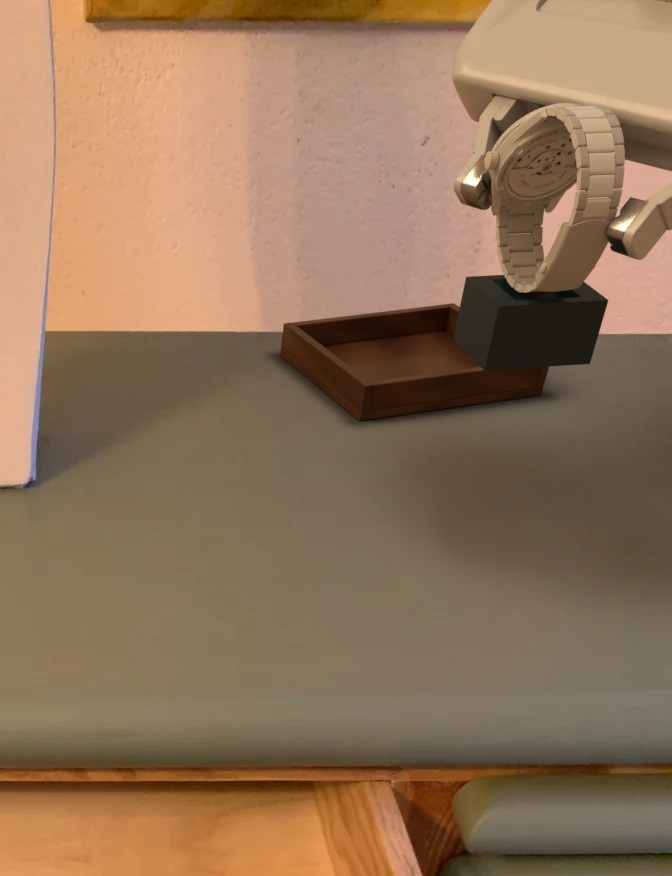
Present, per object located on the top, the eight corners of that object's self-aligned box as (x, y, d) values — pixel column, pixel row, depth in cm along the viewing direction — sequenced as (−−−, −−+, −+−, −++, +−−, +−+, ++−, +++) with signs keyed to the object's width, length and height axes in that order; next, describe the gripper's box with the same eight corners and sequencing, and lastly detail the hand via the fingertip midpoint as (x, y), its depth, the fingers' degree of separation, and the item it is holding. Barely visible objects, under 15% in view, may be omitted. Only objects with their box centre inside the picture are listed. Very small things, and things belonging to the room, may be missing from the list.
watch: (538, 319, 63) (597, 85, 55) (605, 377, 57) (682, 124, 49) (438, 325, 62) (484, 90, 55) (496, 384, 56) (556, 130, 49)
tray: (446, 334, 90) (453, 302, 88) (541, 395, 81) (551, 360, 80) (279, 355, 87) (283, 323, 85) (359, 421, 78) (365, 386, 76)
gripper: (982, 41, 48) (745, 326, 51) (587, -15, 61) (415, 214, 64) (979, -88, 43) (717, 234, 46) (551, -118, 56) (367, 134, 59)
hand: (539, 222), depth 55 cm, fingers closed on watch, 8 cm apart
